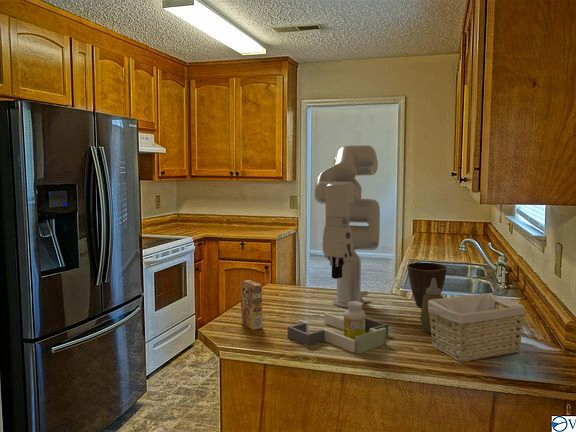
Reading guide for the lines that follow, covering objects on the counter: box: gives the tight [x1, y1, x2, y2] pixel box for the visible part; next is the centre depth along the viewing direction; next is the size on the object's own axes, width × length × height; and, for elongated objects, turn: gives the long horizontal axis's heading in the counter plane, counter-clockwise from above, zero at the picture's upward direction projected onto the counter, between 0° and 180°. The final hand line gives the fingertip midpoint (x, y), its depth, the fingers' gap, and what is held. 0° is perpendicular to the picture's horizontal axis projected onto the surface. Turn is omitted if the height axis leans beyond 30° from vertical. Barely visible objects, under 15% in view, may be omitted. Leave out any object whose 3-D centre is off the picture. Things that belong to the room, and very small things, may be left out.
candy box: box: [239, 279, 264, 330], centre depth 170 cm, size 9×4×15 cm, turn 33°
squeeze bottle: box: [419, 278, 444, 334], centre depth 164 cm, size 8×8×18 cm
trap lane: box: [287, 312, 389, 355], centre depth 159 cm, size 27×27×5 cm
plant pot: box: [407, 262, 448, 309], centre depth 193 cm, size 15×15×16 cm
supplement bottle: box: [343, 301, 367, 340], centre depth 152 cm, size 7×7×13 cm
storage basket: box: [428, 293, 526, 363], centre depth 147 cm, size 24×16×15 cm
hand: (336, 277), depth 159 cm, fingers closed
